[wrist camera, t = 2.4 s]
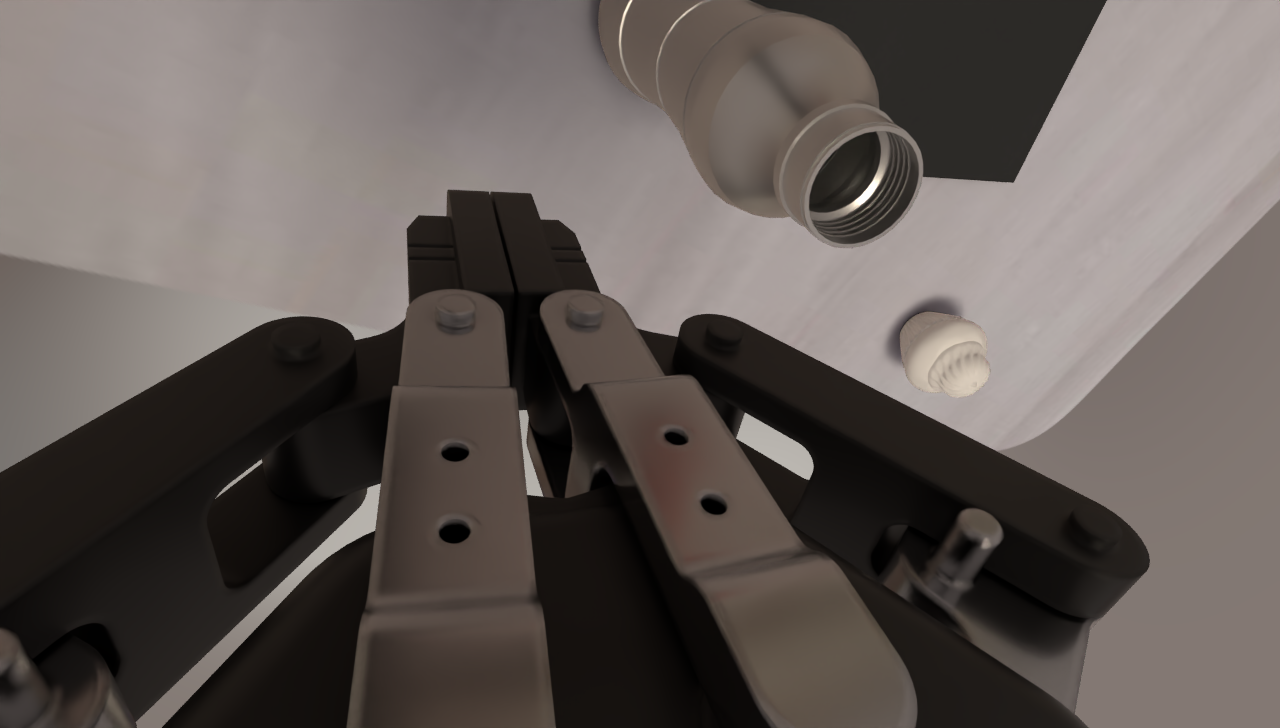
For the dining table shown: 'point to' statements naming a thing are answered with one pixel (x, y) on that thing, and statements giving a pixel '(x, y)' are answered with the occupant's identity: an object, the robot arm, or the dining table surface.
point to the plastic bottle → (770, 111)
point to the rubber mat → (964, 71)
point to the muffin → (944, 354)
